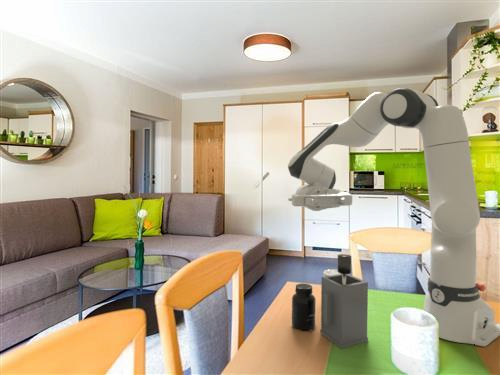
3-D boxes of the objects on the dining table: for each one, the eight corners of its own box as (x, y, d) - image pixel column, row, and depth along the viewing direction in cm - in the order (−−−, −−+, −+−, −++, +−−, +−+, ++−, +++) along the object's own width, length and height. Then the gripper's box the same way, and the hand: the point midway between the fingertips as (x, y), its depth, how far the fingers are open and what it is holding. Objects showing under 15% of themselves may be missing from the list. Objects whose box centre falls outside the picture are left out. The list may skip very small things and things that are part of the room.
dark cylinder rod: (344, 310, 94) (345, 252, 93) (360, 319, 88) (361, 257, 87) (327, 314, 91) (328, 254, 90) (342, 324, 86) (343, 260, 85)
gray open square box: (345, 326, 96) (346, 272, 95) (368, 341, 88) (369, 282, 87) (314, 334, 92) (315, 277, 91) (335, 350, 83) (336, 288, 83)
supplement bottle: (315, 332, 92) (315, 291, 92) (290, 330, 94) (291, 289, 93) (315, 321, 99) (315, 282, 99) (292, 319, 101) (292, 281, 100)
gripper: (287, 189, 116) (296, 192, 102) (342, 189, 118) (359, 191, 104) (287, 207, 116) (296, 212, 102) (342, 206, 118) (359, 211, 105)
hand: (328, 202), depth 103 cm, fingers open, 8 cm apart
